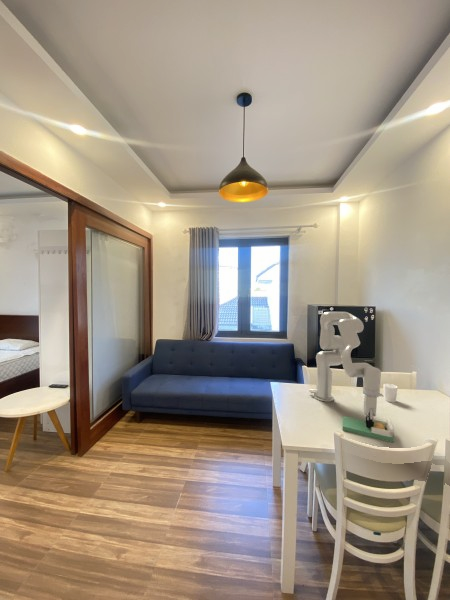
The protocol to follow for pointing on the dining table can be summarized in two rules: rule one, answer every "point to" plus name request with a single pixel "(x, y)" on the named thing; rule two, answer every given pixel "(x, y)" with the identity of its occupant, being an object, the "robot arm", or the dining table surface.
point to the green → (361, 428)
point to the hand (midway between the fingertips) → (369, 425)
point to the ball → (379, 426)
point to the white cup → (390, 392)
